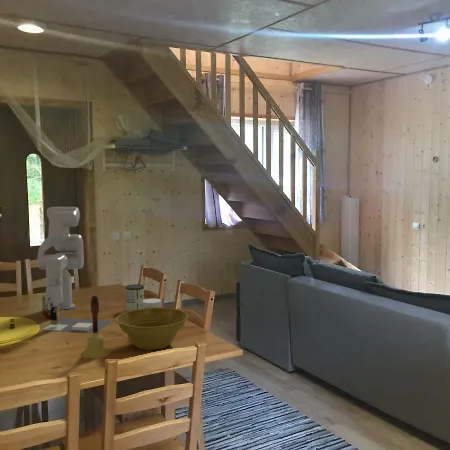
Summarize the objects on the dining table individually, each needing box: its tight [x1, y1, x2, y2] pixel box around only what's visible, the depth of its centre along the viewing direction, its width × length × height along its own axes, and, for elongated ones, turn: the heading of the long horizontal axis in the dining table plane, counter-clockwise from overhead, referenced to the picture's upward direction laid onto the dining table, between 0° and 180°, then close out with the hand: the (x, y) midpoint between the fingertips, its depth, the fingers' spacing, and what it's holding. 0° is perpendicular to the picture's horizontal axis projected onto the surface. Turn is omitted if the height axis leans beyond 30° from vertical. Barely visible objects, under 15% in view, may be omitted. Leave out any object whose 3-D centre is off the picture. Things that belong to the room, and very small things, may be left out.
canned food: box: [41, 294, 50, 320], centre depth 272 cm, size 8×8×12 cm
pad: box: [42, 324, 68, 332], centre depth 253 cm, size 9×9×1 cm
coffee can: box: [125, 283, 145, 312], centre depth 289 cm, size 10×10×14 cm
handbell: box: [80, 295, 111, 359], centre depth 219 cm, size 12×12×25 cm
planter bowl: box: [115, 307, 189, 351], centre depth 230 cm, size 32×32×13 cm
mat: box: [42, 317, 113, 334], centre depth 258 cm, size 28×22×1 cm
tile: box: [72, 323, 93, 332], centre depth 252 cm, size 8×2×7 cm
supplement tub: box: [142, 298, 163, 309], centre depth 254 cm, size 10×10×15 cm
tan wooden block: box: [49, 304, 62, 325], centre depth 253 cm, size 4×4×12 cm
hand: (55, 318), depth 253 cm, fingers closed on tan wooden block, 3 cm apart
